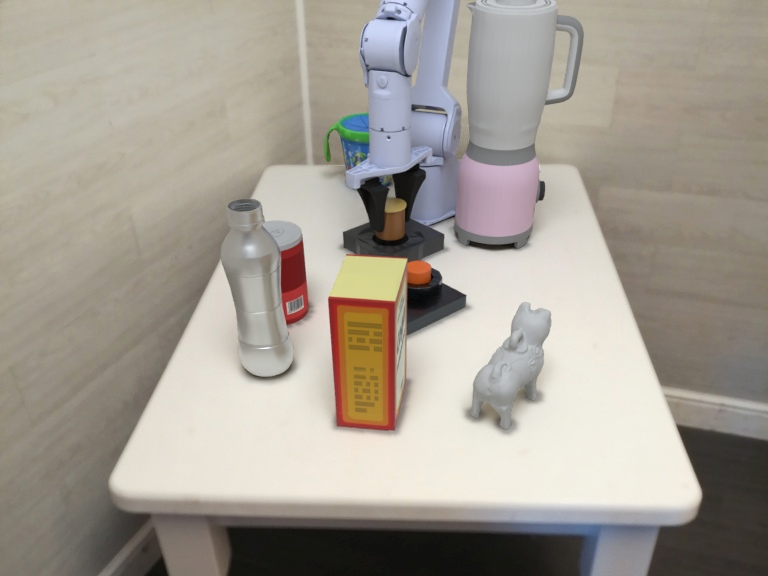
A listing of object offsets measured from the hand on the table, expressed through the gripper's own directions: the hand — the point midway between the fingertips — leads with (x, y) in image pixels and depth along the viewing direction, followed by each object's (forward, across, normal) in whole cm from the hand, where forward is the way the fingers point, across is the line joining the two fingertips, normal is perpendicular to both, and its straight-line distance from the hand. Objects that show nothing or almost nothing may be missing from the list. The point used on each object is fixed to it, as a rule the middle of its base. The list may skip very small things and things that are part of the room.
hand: (390, 224), depth 107 cm
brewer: (+4, +8, +14) cm, 17 cm away
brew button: (+1, +7, +13) cm, 15 cm away
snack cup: (+5, -15, -23) cm, 28 cm away
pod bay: (+4, -2, -1) cm, 5 cm away
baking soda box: (+5, +26, +27) cm, 38 cm away
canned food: (+5, +22, +3) cm, 23 cm away
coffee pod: (+1, 0, 0) cm, 1 cm away
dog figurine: (+5, +14, +37) cm, 40 cm away
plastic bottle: (+5, +32, +13) cm, 34 cm away
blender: (+5, -18, +7) cm, 19 cm away
